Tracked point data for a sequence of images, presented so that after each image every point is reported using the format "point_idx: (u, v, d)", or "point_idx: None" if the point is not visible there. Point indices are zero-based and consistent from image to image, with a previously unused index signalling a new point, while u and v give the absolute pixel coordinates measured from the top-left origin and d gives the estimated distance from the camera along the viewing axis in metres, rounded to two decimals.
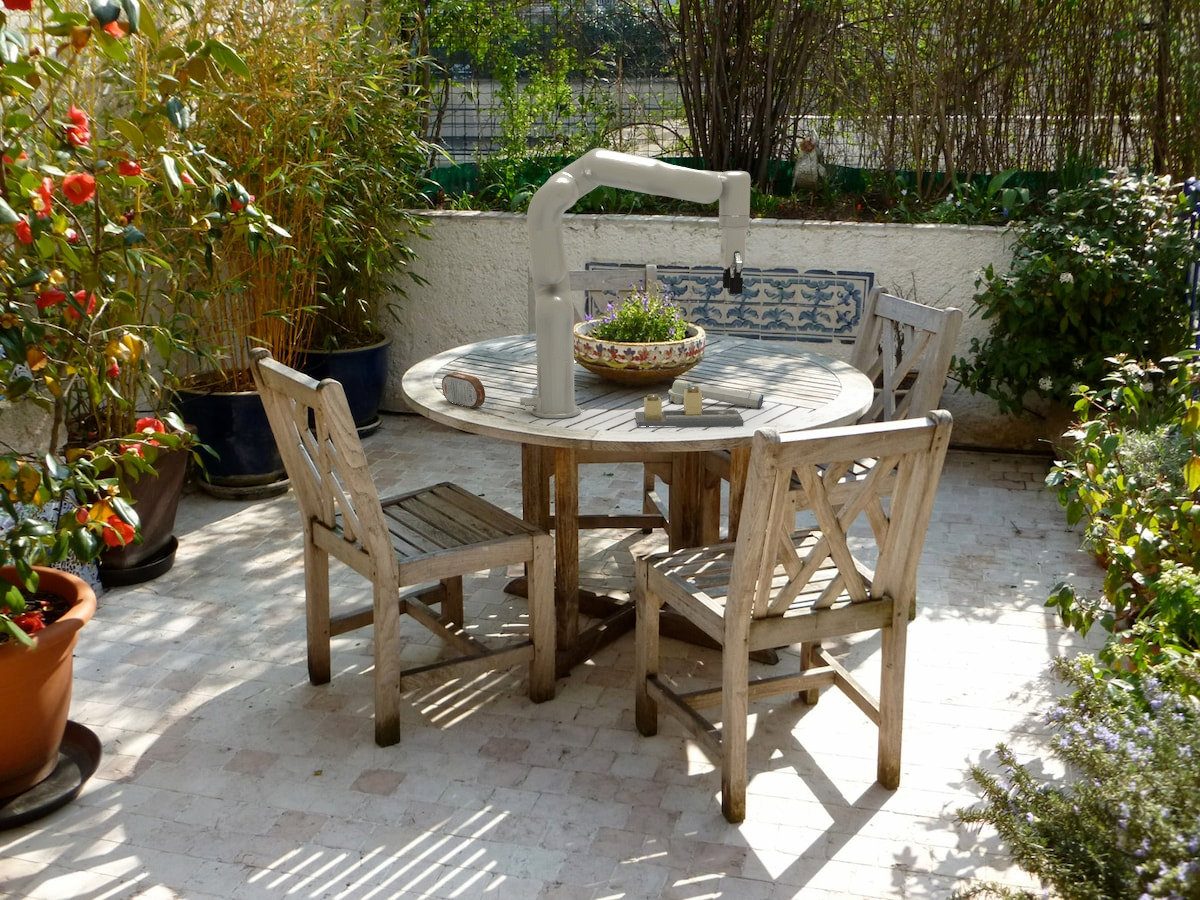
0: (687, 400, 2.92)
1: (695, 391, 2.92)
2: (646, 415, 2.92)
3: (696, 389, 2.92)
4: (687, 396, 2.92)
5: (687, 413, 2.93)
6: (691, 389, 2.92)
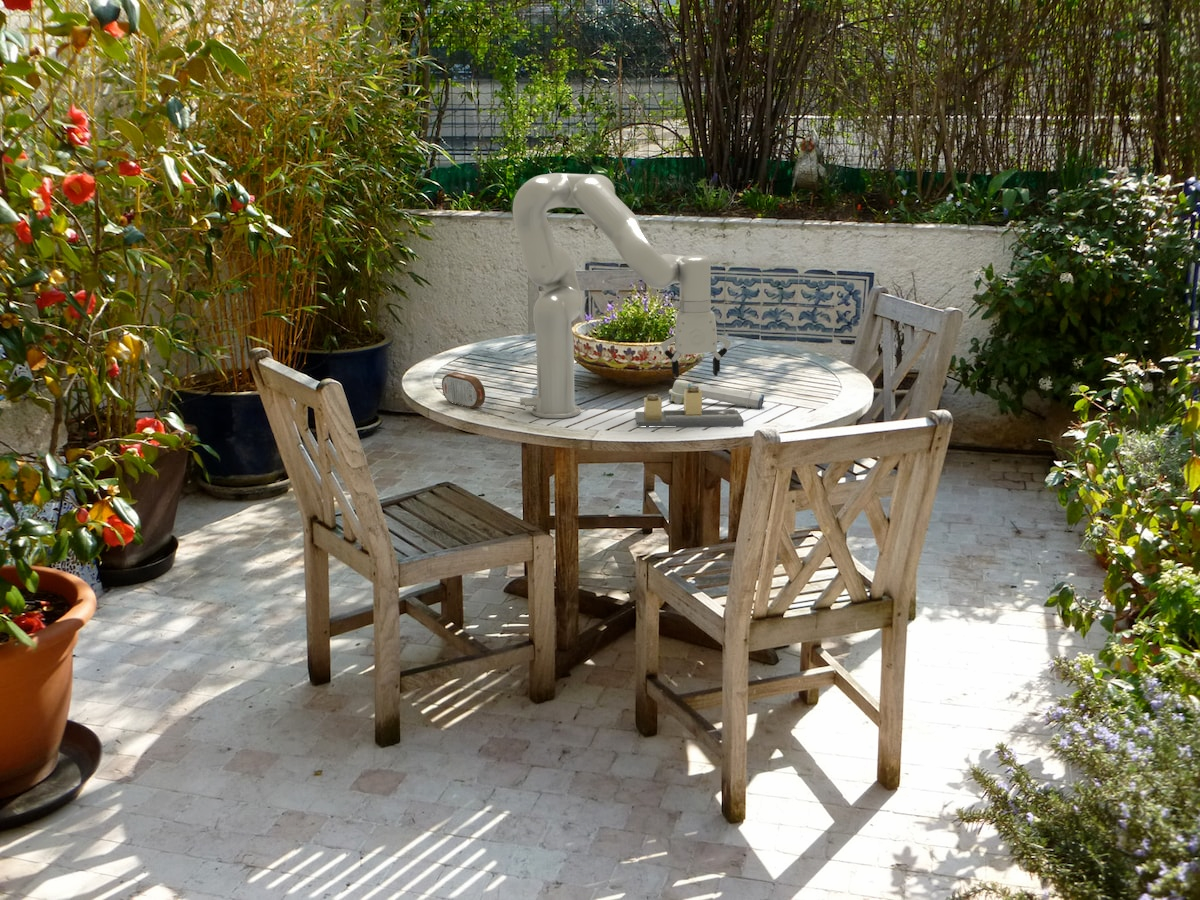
0: (687, 400, 2.92)
1: (695, 391, 2.92)
2: (646, 415, 2.92)
3: (696, 389, 2.92)
4: (687, 396, 2.92)
5: (687, 413, 2.93)
6: (691, 389, 2.92)
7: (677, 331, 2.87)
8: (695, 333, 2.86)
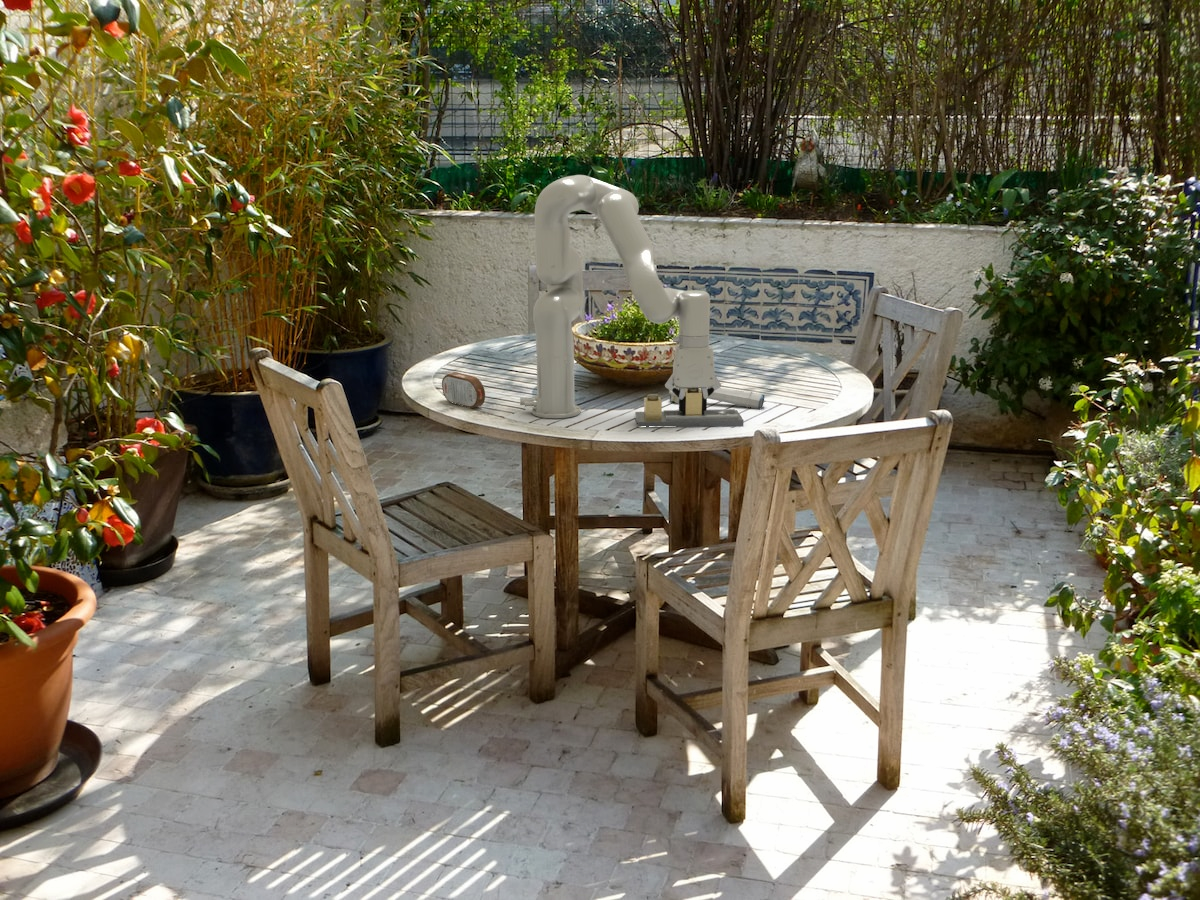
0: (687, 400, 2.92)
1: (695, 391, 2.92)
2: (646, 415, 2.92)
3: (696, 389, 2.92)
4: (687, 396, 2.92)
5: (687, 413, 2.93)
6: (691, 389, 2.92)
7: (675, 365, 2.89)
8: (693, 367, 2.89)
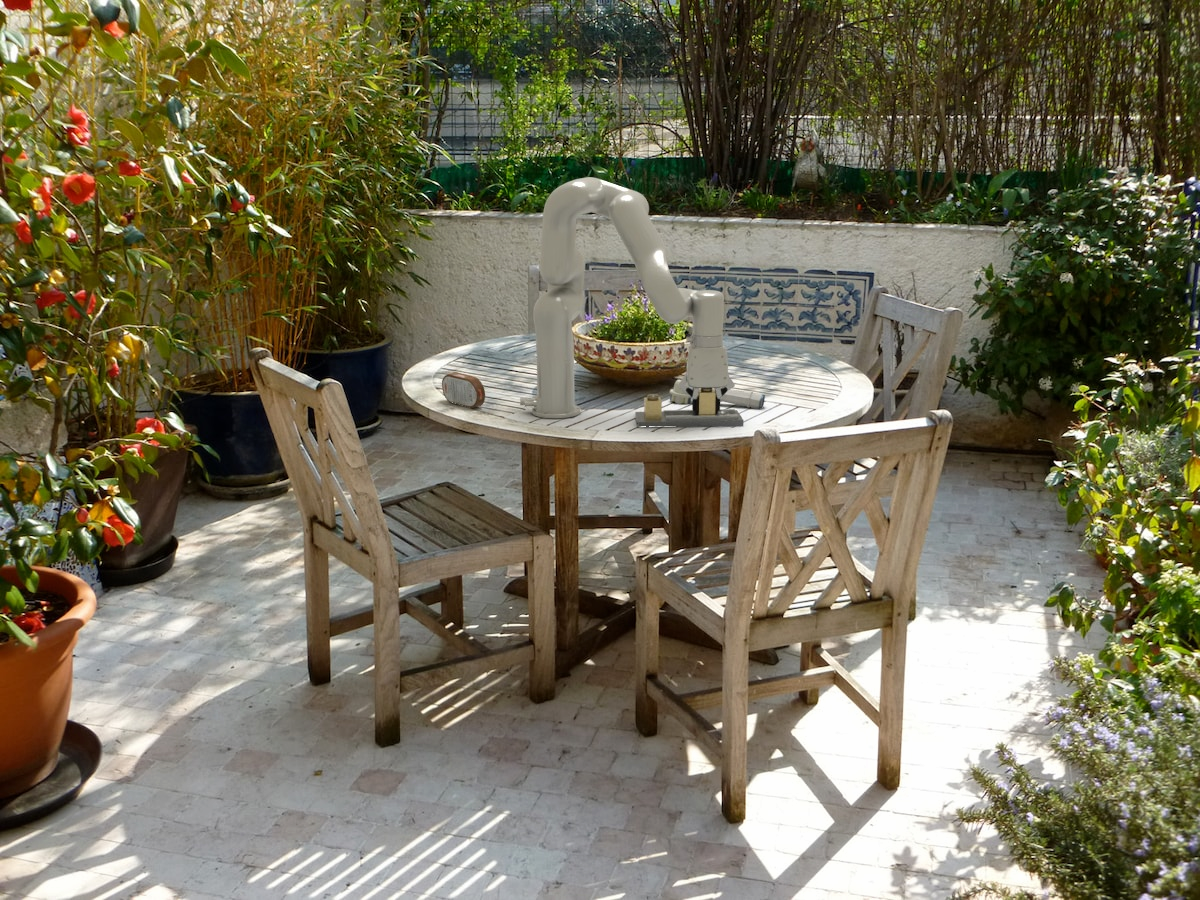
0: (700, 400, 2.92)
1: (708, 391, 2.92)
2: (646, 415, 2.92)
3: (709, 389, 2.92)
4: (700, 396, 2.92)
5: (700, 413, 2.93)
6: (704, 389, 2.92)
7: (689, 365, 2.89)
8: (707, 367, 2.89)
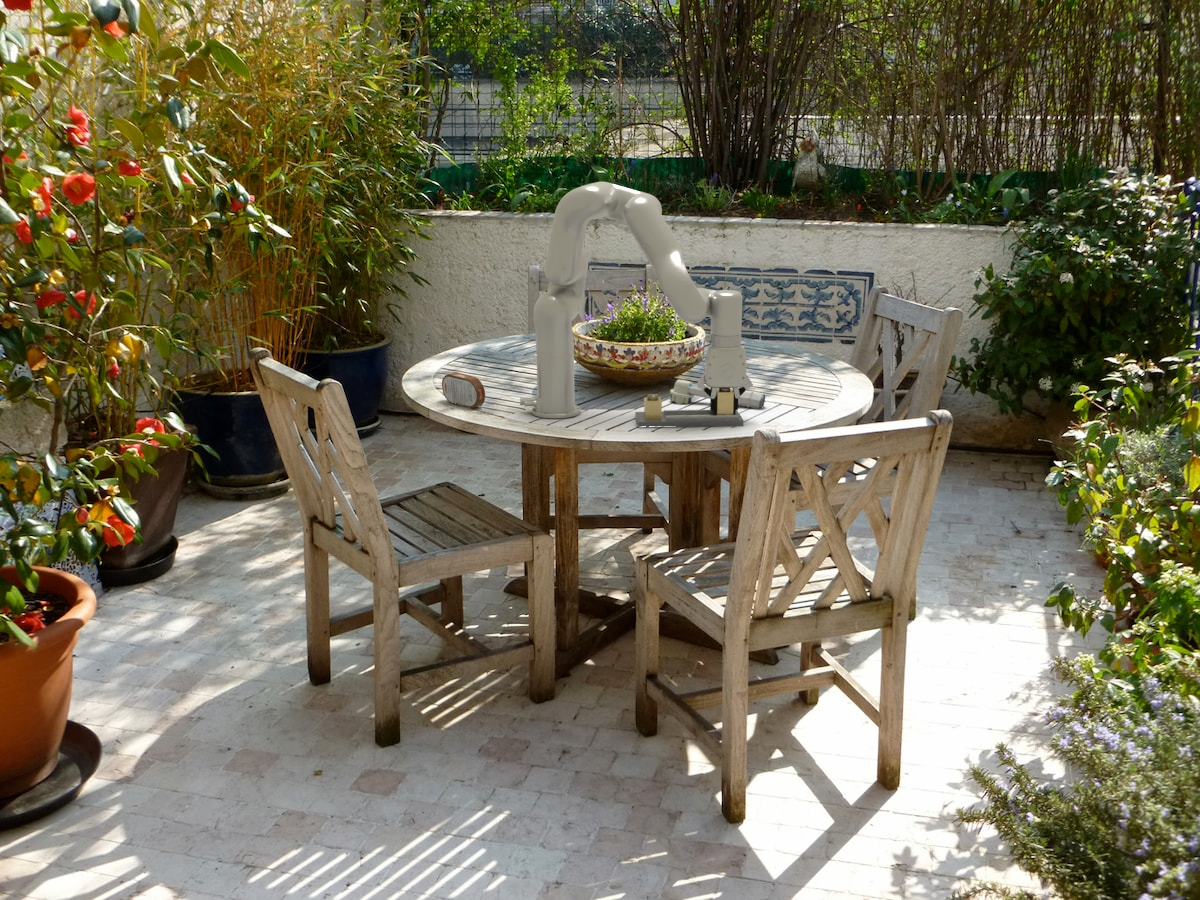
0: (719, 399, 2.92)
1: (727, 390, 2.92)
2: (646, 415, 2.92)
3: (728, 388, 2.92)
4: (719, 395, 2.92)
5: (719, 412, 2.93)
6: (723, 388, 2.92)
7: (707, 364, 2.89)
8: (725, 367, 2.89)
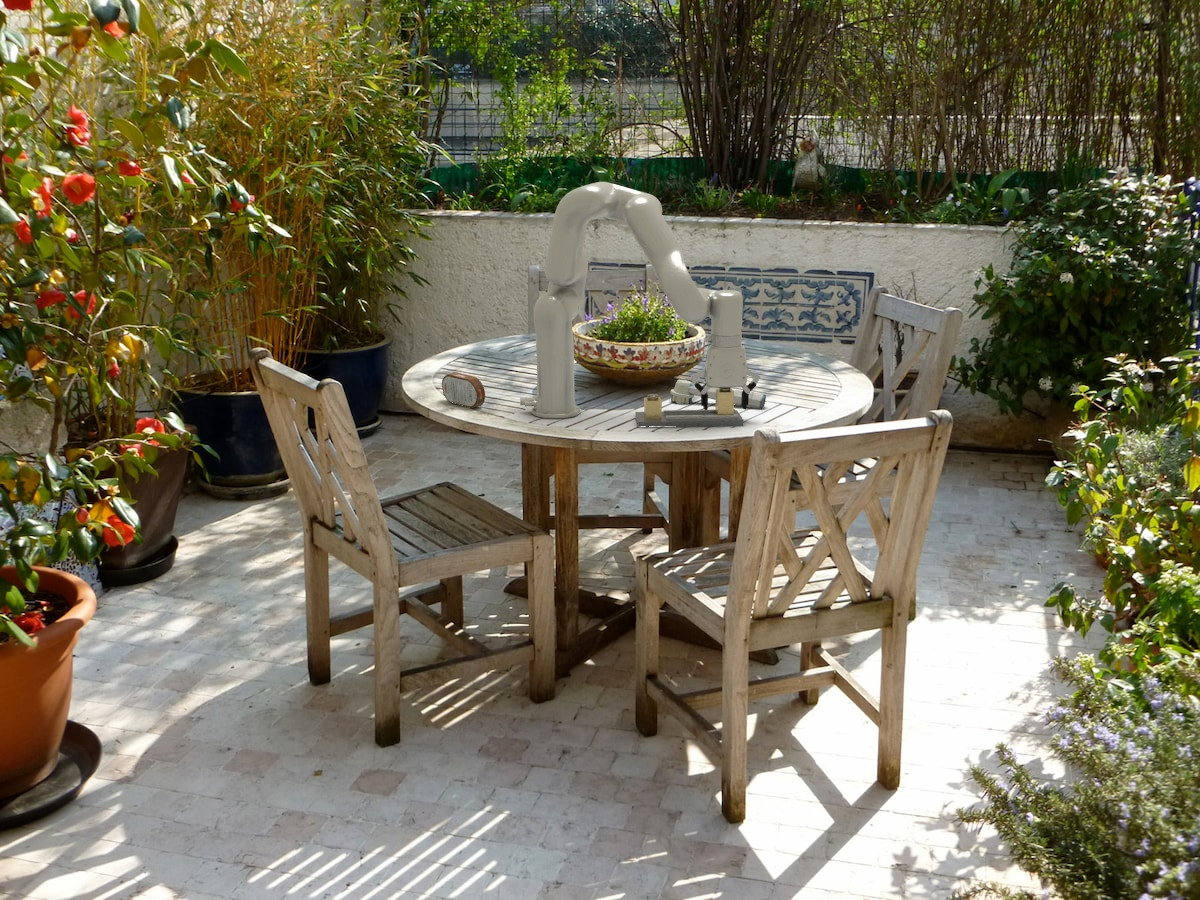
0: (719, 399, 2.92)
1: (727, 390, 2.92)
2: (646, 415, 2.92)
3: (728, 388, 2.92)
4: (719, 395, 2.92)
5: (719, 412, 2.93)
6: (723, 388, 2.92)
7: (708, 365, 2.89)
8: (725, 367, 2.89)
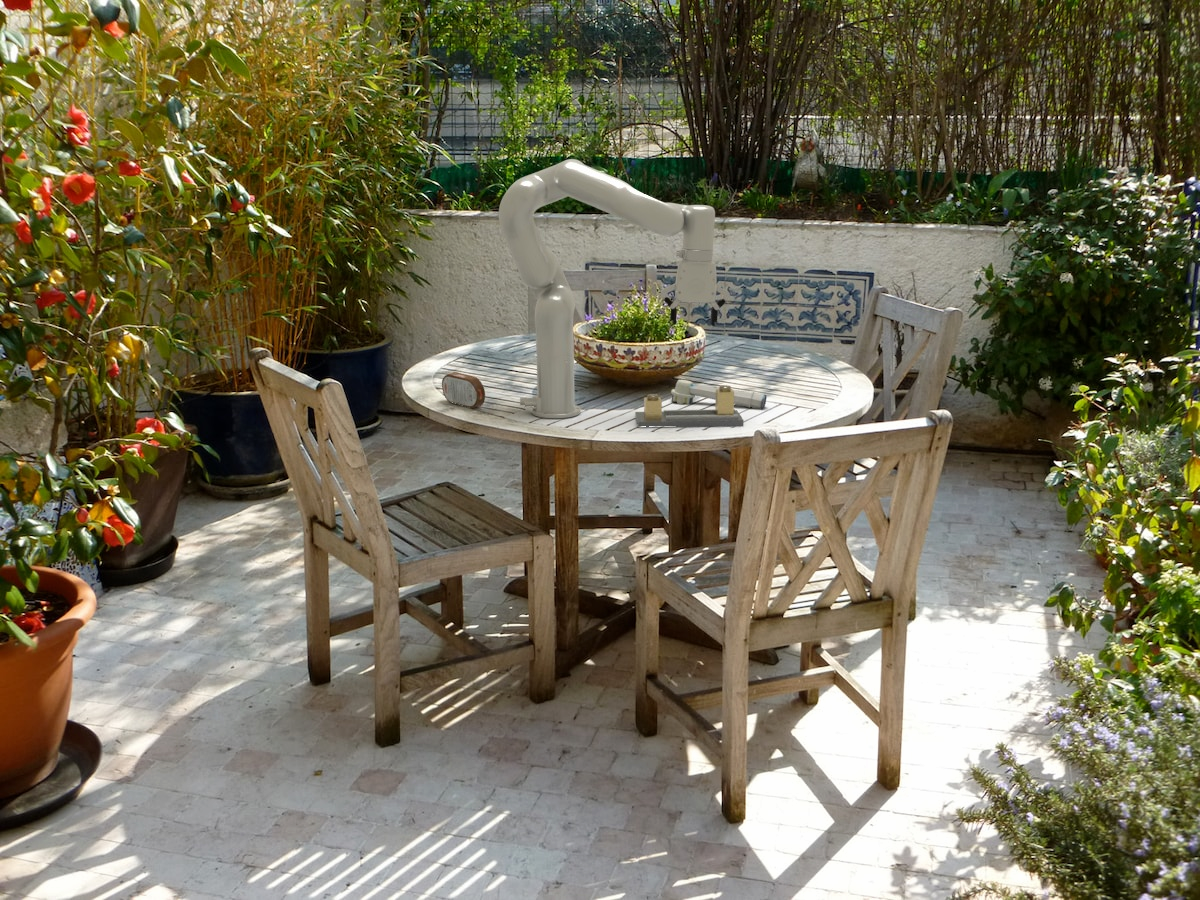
0: (719, 399, 2.92)
1: (727, 390, 2.92)
2: (646, 415, 2.92)
3: (728, 388, 2.92)
4: (719, 395, 2.92)
5: (719, 412, 2.93)
6: (723, 388, 2.92)
7: (677, 278, 2.91)
8: (695, 282, 2.91)
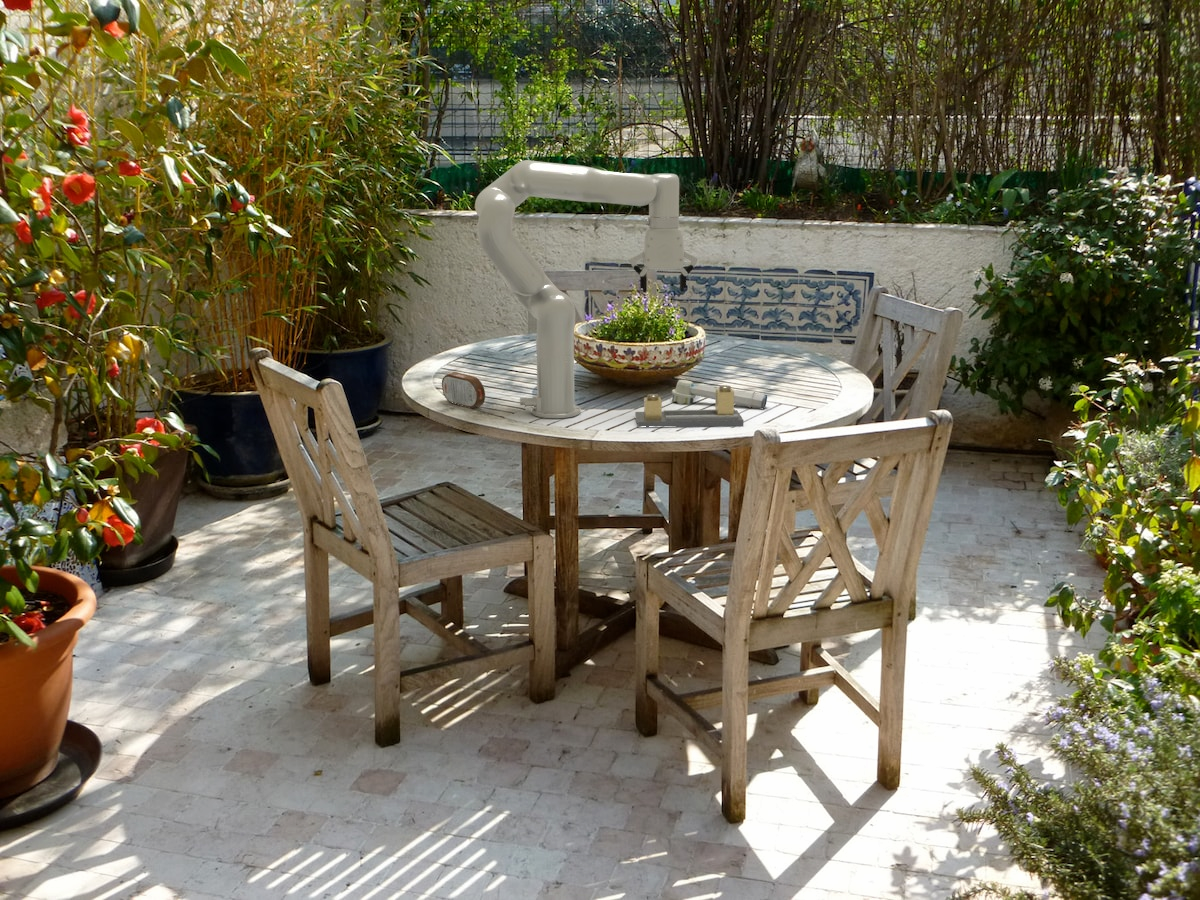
0: (719, 399, 2.92)
1: (727, 390, 2.92)
2: (646, 415, 2.92)
3: (728, 388, 2.92)
4: (719, 395, 2.92)
5: (719, 412, 2.93)
6: (723, 388, 2.92)
7: (645, 246, 2.97)
8: (663, 249, 2.97)
